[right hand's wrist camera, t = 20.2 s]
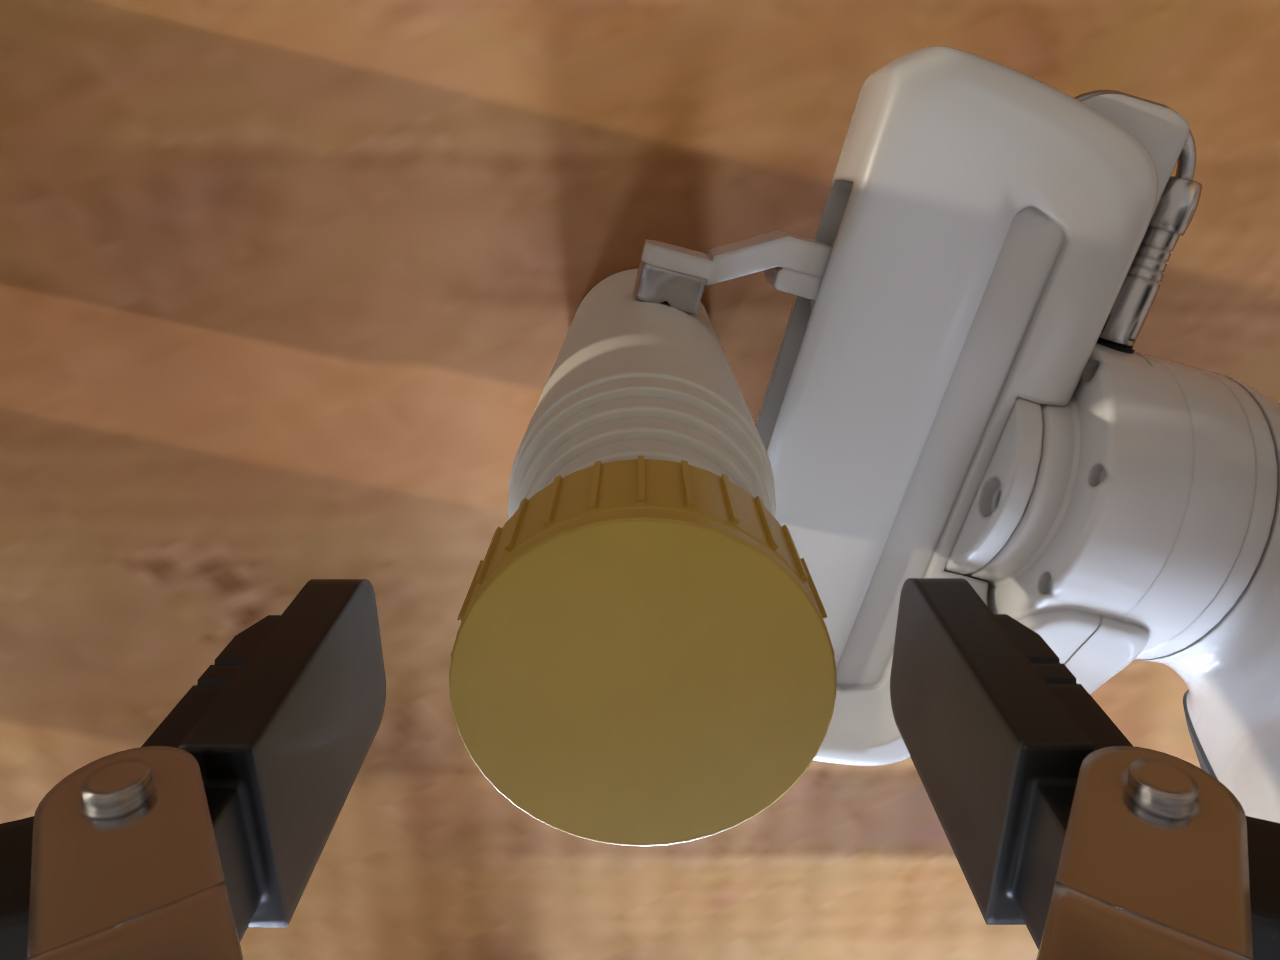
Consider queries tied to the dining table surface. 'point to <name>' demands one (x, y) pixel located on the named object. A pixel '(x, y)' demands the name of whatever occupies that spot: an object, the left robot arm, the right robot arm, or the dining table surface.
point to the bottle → (640, 397)
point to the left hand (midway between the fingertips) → (610, 379)
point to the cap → (642, 656)
